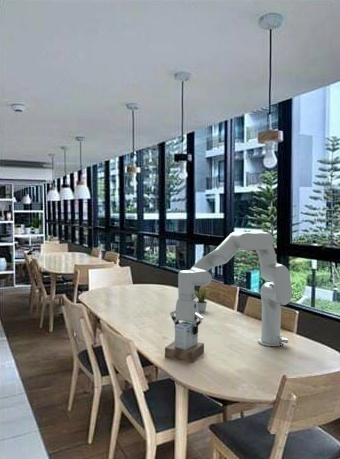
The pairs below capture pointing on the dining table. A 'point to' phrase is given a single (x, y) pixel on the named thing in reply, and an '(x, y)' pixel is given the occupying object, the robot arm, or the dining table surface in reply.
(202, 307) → the house plant
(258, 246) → the robot arm
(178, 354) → the walnut block
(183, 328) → the light bulb box
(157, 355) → the dining table surface
